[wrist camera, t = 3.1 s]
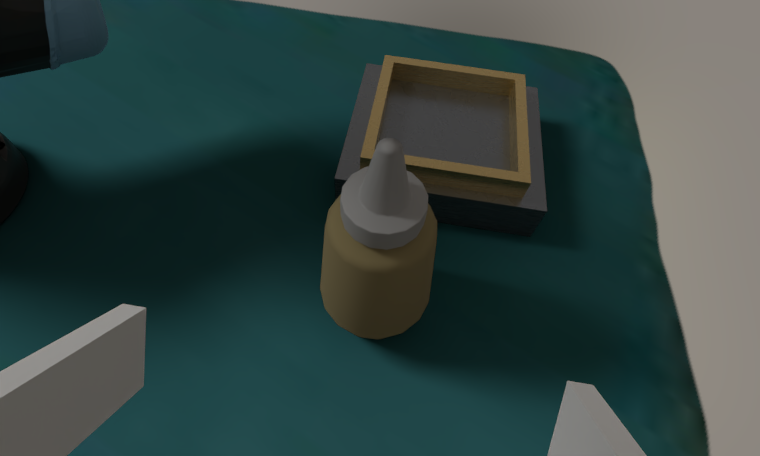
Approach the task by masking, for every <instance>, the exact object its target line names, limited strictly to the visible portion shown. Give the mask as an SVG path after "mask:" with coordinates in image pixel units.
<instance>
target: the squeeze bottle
mask: <svg viewBox="0 0 760 456" xmlns="http://www.w3.org/2000/svg"><path fill="white" fill-rule="evenodd" d="M436 242H437V220H436V218H435V216H434V213H433V211H432V209H431V206H430V205H429V204H428V194H427V192H426V189H425V187H424V185H423V183H422V182H421V181H420V180H419V179H418V178H417V177H416V176H415V175H414V174H413V173H411V172H409V171H407V170H406V164H405V158H404V151H403V146H402V144H401V143H400V142H399V141H398V140H396V139H394V138H384V139H382V140H380V141H379V143H378V144H377V146H376V149H375V152H374V154H373V157H372V160H371V162H370V165H369V166H368V167H364V168H362V169H361V170H359V171H357V172H355V173H354V174H352V175H351V176H350V177H349V178H348V180H347V181H346V182H345V184H344V185H343V187H342V192H341V194H340V195H339V197H338V198H337V199H336V201H335V202H334V203H333V204H332V206H331V207H330V208H329V211H328V215H327V220H326V224H325V232H324V245H323V258H322V271H321V284H320V290H321V294H322V298H323V303H324V307H325V309H326V310H327V312H328V313H329V314H330V316H331V317H332V318H333V319H334V321H335V322H336V323H337V325H339V326H340V327H342V328H344V329H346V330H347V331H349V332H351V333H353V334H355V335H356V336H359V337H362V338H370V339H382V338H386V337H390V336H394V335H397V334H401V333H403V332H404V331H406V330H407V329H408V328H409V327H411V326H412V325H413V324H415V323H416V322H417V321H418V320H419V319H420V318H421V316H422V314H423V312H424V310H425V308H426V306H427V304H428V302H429V296H430V288H431V281H432V273H433V265H434V257H435V250H436Z"/></svg>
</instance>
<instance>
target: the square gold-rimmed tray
mask: <svg viewBox="0 0 760 456" xmlns="http://www.w3.org/2000/svg"><path fill="white" fill-rule="evenodd" d="M384 138H394V139H396V140H398V141H399V142H400V143H401V144H402V146H403V151H404V158H405V164H406V170H407V171H409V172H411V173H413V174H414V175H415V176H416V177H417V178H418V179H419V180H420V181H421V182H422V183H423V185H424V187H425V189H426V192H427V194H428V204H429V205H430V206H431V209H432V211H433V213H434V216H435V218H436V220H437V222H440V223H446V224H453V225H459V226H465V227H472V228H478V229H484V230H491V231H497V232H503V233H510V234H516V235H522V236H529V237H530V236H531V235H532V233H533V232H534V230H535V229H536V227H537V226H538V224H539V223H540V221H541V220H542V218H543V217H544V215H545V214H546V212H547V203H546V190H545V178H544V165H543V153H542V140H541V128H540V115H539V102H538V90H537V88H534V87H527V86H526V83H525V75H523V74H516V73H509V72H502V71H495V70H488V69H481V68H474V67H467V66H460V65H453V64H446V63H439V62H432V61H424V60H417V59H410V58H403V57H396V56H389V55H385V58H384V62H383V66H381V65H374V64H366V68H365V72H364V75H363V79H362V82H361V86H360V89H359V93H358V97H357V100H356V104H355V107H354V111H353V114H352V118H351V122H350V125H349V129H348V132H347V136H346V139H345V143H344V147H343V150H342V154H341V157H340V161H339V164H338V168H337V172H336V175H335V194H336V199H337V198H338V197H339V195H340V194H341V192H342V187H343V185H344V184H345V182H346V181H347V180H348V178H349V177H350V176H351V175H352V174H354V173H355V172H357V171H359V170H361V169H362V168H364V167H368V166H369V165H370V162H371V160H372V157H373V154H374V152H375V149H376V146H377V144H378V143H379V141H380V140H382V139H384Z"/></svg>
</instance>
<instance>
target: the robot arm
mask: <svg viewBox="0 0 760 456" xmlns="http://www.w3.org/2000/svg"><path fill="white" fill-rule="evenodd" d="M107 42H108V29H107V25H106V21H105V17H104V14H103V10H102V7H101V3H100V0H0V77H5V76H10V75H16V74H21V73H26V72H31V71H36V70H41V69H46V68H50V69H51V70H53V69H56V68H58V67H59V66H60V64H64V63H68V62H72V61H76V60H80V59H84V58H88V57H92V56H95V55H97V54H99V53H100V52H102V51H103V49H104V48H105V46H106V45H107ZM27 181H28V166H27V163H26V160H25V158H24V156H23V155H22V153H21V152H20V151H19V150H18V149H17V148H16V147H15V146H14V145H13V144H12V143H11V142H10V141H9V140H8V139H7V138H6V137H5V136H4V135H3V134H2V133H1V132H0V224H1V223H2V222H3V221H4V220H5V219H6V218H7V217H8V216H9V214H10V213H11V212H12V211H13V210H14V208H15V207H16V206H17V204H18V202H19V201H20V199H21V197H22V195H23V193H24V191H25V188H26V185H27ZM145 331H146V308H145V307H139V306H133V305H128V304H121V305H120V306H118V307H116V308H114V309H112V310H110V311H109V312H107V313H105V314H103V315H101V316H100V317H98V318H96V319H94V320H92V321H91V322H89V323H87V324H85V325H83V326H82V327H80V328H78V329H76V330H74V331H73V332H71V333H69V334H67V335H65V336H64V337H62V338H60V339H58V340H56V341H55V342H53V343H51V344H49V345H47V346H46V347H44V348H42V349H40V350H38V351H37V352H35V353H33V354H31V355H29V356H28V357H26V358H24V359H22V360H20V361H18V362H17V363H15V364H13V365H11V366H9V367H8V368H6V369H4V370H2V371H0V456H67V455H68V454H69V453H70V452H71V451H72V450H74V449H75V448H76V447H77V446H78V445H79V444H80V443H81V442H82V441H83V440H85V439H86V438H87V437H88V436H89V435H90V434H91V433H92V432H93V431H95V430H96V429H97V428H98V427H99V426H100V425H101V424H102V423H103V422H104V421H106V420H107V419H108V418H109V417H110V416H111V415H112V414H113V413H114V412H115V411H117V410H118V409H119V408H120V407H121V406H122V405H123V404H124V403H125V402H127V401H128V400H129V399H130V398H131V397H132V396H133V395H134V394H135V393H136V392H138V391H139V390H140V389H141V388H142V387H143V386H144V360H145ZM547 456H646V454H645V453H644V452H643V450H642V449H641V448H640V446H639V445H638V444H637V442H636V441H635V440H634V438H633V437H632V436H631V434H630V433H629V432H628V431H627V429H626V428H625V427H624V425H623V424H622V423H621V421H620V420H619V419H618V417H617V416H616V415H615V413H614V412H613V411H612V409H611V408H610V407H609V405H608V404H607V403H606V401H605V400H604V399H603V397H602V396H601V395H600V393H599V392H598V391H597V389H596V388H595V387H594V385H590V384H584V383H578V382H573V381H567V384H566V388H565V392H564V396H563V399H562V403H561V407H560V410H559V414H558V418H557V422H556V425H555V429H554V433H553V437H552V440H551V444H550V448H549V452H548V455H547Z"/></svg>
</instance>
